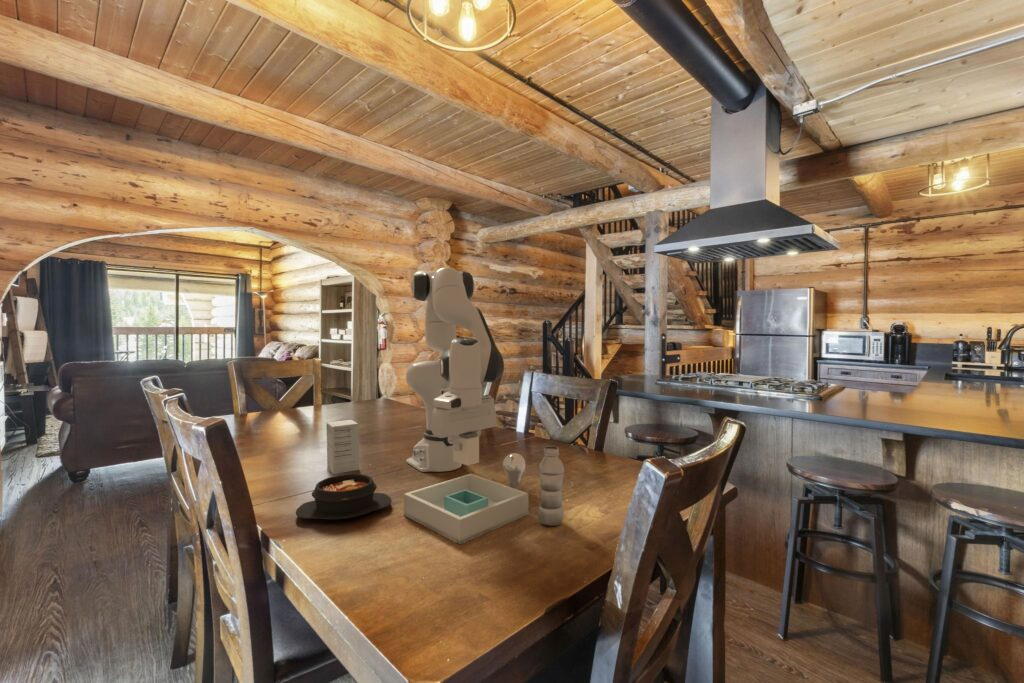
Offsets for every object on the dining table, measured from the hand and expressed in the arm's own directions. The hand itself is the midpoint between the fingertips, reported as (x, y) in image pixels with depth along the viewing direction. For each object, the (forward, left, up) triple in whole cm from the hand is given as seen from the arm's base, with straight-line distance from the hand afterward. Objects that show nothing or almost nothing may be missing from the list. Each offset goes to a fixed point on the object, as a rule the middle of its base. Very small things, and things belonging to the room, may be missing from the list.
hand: (465, 448), depth 125 cm
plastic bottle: (+20, +12, -19) cm, 30 cm away
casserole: (-26, -22, -19) cm, 39 cm away
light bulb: (-3, +22, -19) cm, 29 cm away
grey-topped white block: (0, 0, -4) cm, 4 cm away
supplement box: (-63, -5, -19) cm, 66 cm away
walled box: (0, 0, -18) cm, 18 cm away
